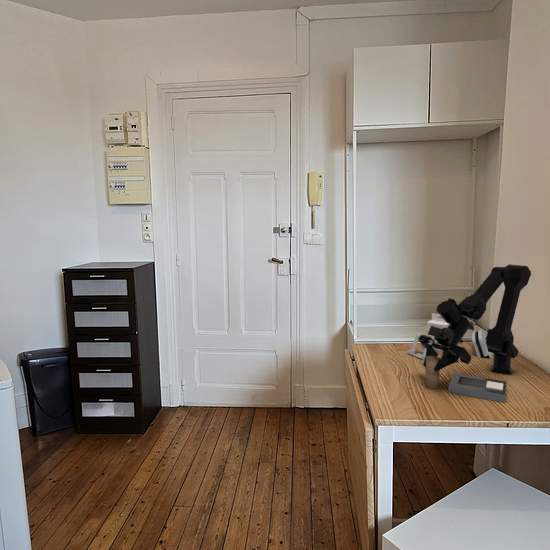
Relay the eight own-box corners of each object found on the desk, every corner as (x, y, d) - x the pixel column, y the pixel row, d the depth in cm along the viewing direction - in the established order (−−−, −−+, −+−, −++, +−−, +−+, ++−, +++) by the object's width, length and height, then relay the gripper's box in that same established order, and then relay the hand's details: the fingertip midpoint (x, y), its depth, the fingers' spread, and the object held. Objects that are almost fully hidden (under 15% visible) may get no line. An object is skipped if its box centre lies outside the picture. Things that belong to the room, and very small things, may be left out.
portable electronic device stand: (407, 354, 173) (407, 334, 172) (421, 351, 176) (422, 332, 175) (422, 360, 165) (423, 340, 164) (437, 357, 169) (437, 337, 168)
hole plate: (453, 380, 145) (453, 372, 144) (506, 388, 136) (506, 380, 136) (448, 392, 134) (448, 384, 134) (504, 402, 126) (505, 393, 126)
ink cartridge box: (425, 347, 181) (426, 314, 179) (430, 345, 185) (431, 312, 183) (445, 351, 175) (446, 317, 173) (449, 349, 179) (451, 315, 177)
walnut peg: (426, 383, 142) (427, 355, 141) (440, 385, 140) (441, 357, 139) (423, 387, 138) (424, 358, 137) (437, 390, 136) (438, 360, 135)
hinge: (491, 359, 165) (483, 335, 166) (478, 361, 168) (470, 337, 168) (492, 347, 180) (485, 325, 180) (481, 349, 182) (473, 328, 182)
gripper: (422, 312, 146) (397, 346, 143) (466, 323, 129) (438, 363, 126) (438, 331, 150) (414, 365, 147) (483, 344, 134) (456, 383, 131)
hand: (429, 368), depth 138 cm, fingers closed on walnut peg, 4 cm apart
